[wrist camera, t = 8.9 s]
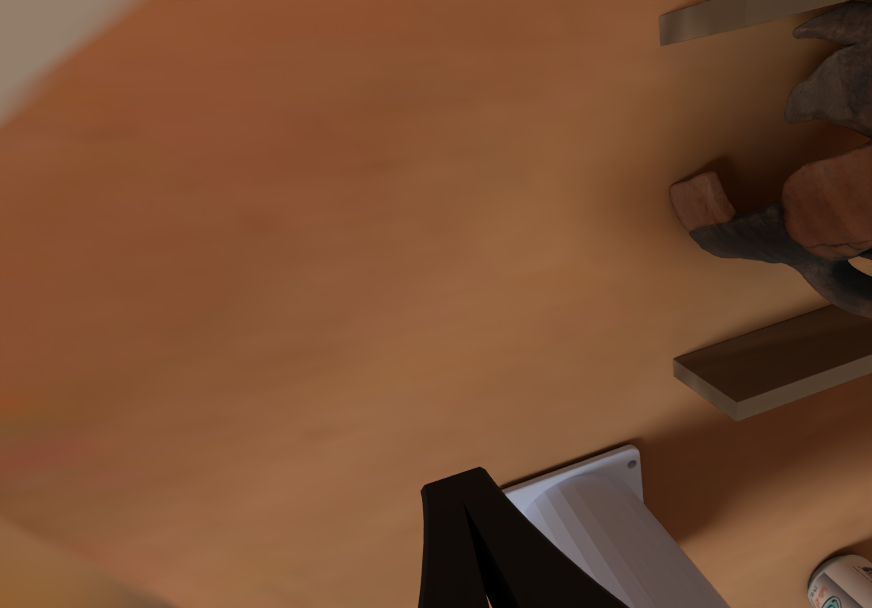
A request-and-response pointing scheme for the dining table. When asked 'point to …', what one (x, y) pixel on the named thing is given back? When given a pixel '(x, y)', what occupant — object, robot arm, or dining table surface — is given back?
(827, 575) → the supplement bottle
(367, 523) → the dining table surface
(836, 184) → the brown hollow ring part
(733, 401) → the box
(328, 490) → the dining table surface
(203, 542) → the dining table surface
